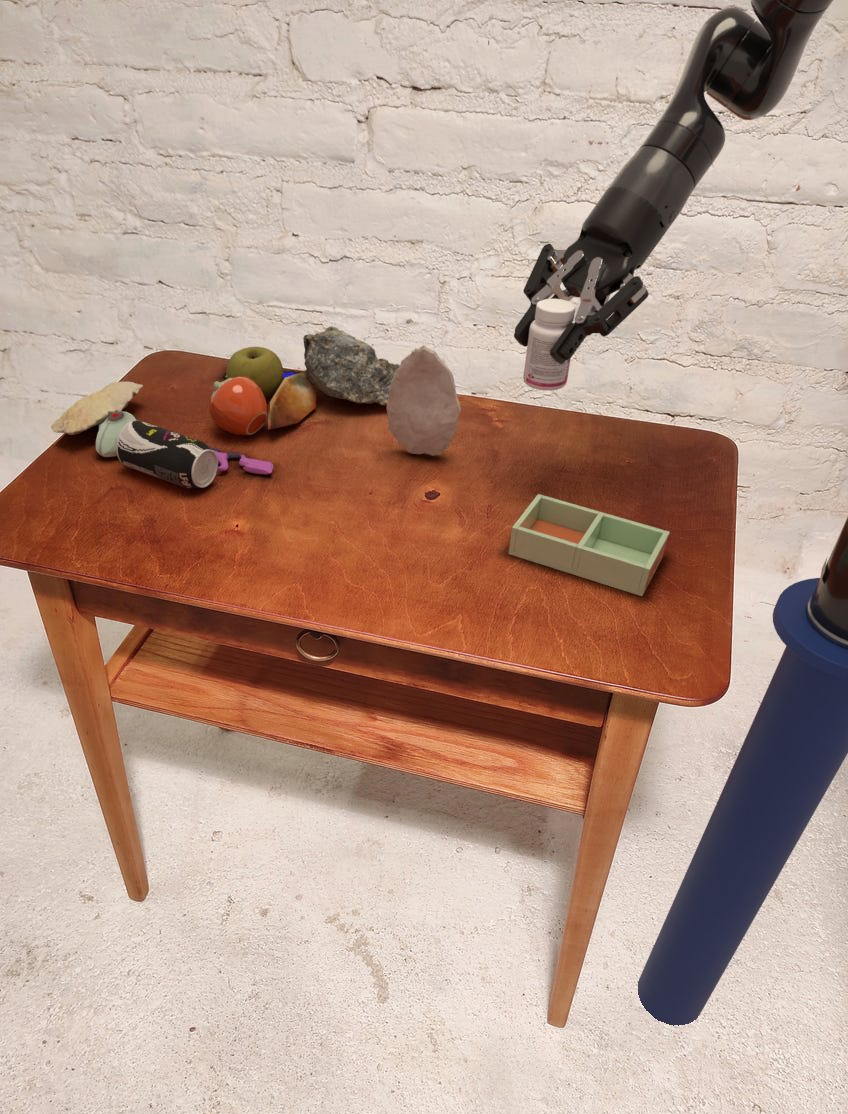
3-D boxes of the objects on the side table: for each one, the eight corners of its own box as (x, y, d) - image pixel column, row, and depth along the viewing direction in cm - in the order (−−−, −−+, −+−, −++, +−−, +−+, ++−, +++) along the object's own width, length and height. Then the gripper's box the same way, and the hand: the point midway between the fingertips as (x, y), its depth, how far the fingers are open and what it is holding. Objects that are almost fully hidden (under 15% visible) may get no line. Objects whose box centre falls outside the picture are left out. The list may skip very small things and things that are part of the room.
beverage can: (147, 417, 108) (224, 443, 103) (142, 463, 110) (218, 490, 106) (114, 419, 103) (193, 446, 99) (109, 466, 105) (187, 495, 101)
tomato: (283, 412, 115) (243, 372, 117) (269, 392, 108) (225, 350, 109) (244, 452, 116) (204, 412, 117) (227, 435, 108) (184, 393, 110)
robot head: (130, 471, 108) (162, 435, 110) (114, 445, 104) (148, 409, 107) (84, 460, 111) (117, 425, 114) (68, 435, 108) (102, 400, 111)
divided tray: (662, 558, 95) (670, 531, 92) (642, 596, 90) (650, 569, 87) (533, 519, 100) (538, 493, 98) (508, 554, 95) (512, 527, 93)
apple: (220, 411, 118) (214, 361, 114) (243, 386, 124) (238, 337, 120) (272, 419, 117) (269, 368, 112) (293, 394, 123) (291, 344, 118)
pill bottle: (573, 389, 95) (587, 311, 89) (532, 394, 94) (543, 315, 88) (556, 371, 98) (567, 295, 93) (516, 375, 97) (525, 298, 92)
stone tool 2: (457, 454, 111) (468, 338, 101) (455, 467, 109) (466, 350, 99) (386, 447, 112) (389, 332, 102) (382, 459, 110) (385, 343, 100)
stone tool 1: (91, 450, 109) (160, 398, 119) (79, 419, 106) (150, 369, 116) (41, 447, 112) (112, 397, 122) (29, 417, 110) (102, 369, 120)
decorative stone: (256, 393, 109) (239, 401, 111) (276, 436, 111) (259, 442, 113) (313, 363, 120) (296, 370, 121) (330, 403, 121) (314, 409, 123)
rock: (409, 337, 114) (357, 378, 110) (415, 398, 122) (367, 439, 118) (331, 303, 120) (280, 341, 117) (342, 363, 128) (294, 401, 125)
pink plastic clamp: (280, 462, 107) (258, 478, 104) (280, 469, 108) (258, 485, 104) (145, 425, 114) (120, 438, 111) (146, 432, 115) (121, 445, 111)
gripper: (572, 169, 91) (475, 310, 94) (683, 201, 83) (572, 355, 85) (598, 216, 97) (506, 346, 100) (704, 250, 89) (600, 392, 91)
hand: (537, 349), depth 93 cm, fingers closed on pill bottle, 4 cm apart
